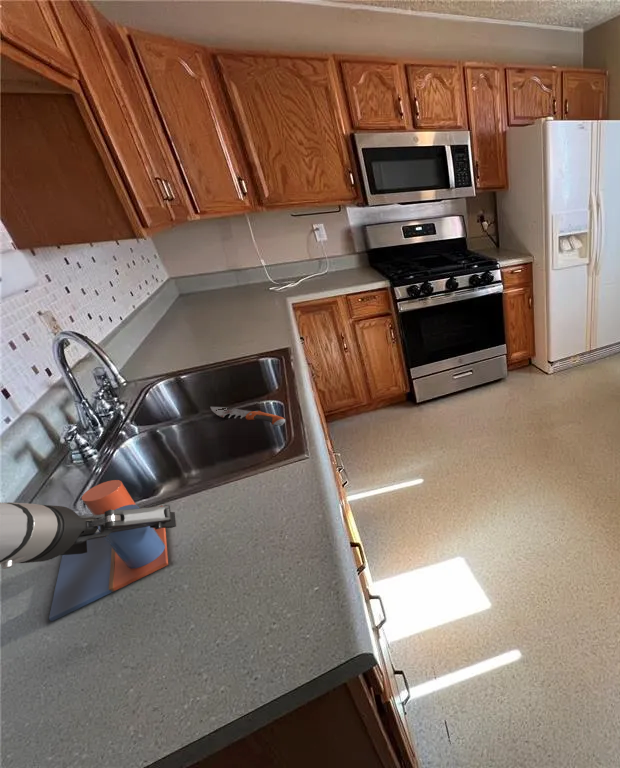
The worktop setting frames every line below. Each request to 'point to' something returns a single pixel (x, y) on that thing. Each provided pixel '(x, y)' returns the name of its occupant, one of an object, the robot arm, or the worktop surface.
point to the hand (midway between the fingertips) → (129, 532)
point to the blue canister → (136, 544)
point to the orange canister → (107, 497)
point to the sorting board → (96, 575)
